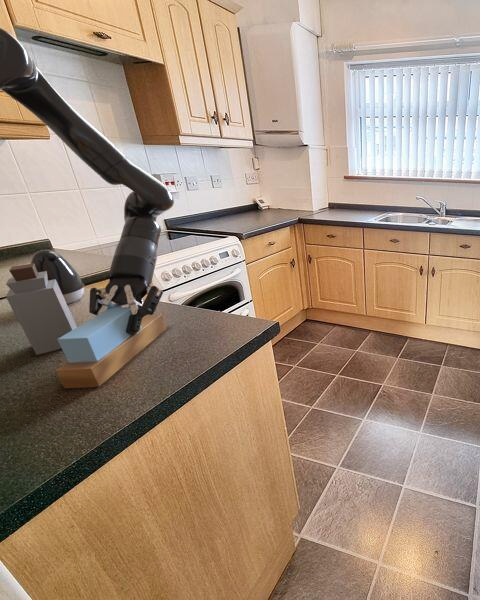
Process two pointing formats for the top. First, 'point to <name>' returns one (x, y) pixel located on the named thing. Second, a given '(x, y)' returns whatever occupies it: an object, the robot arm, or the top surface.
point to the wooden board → (111, 357)
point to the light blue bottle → (96, 336)
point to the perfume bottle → (39, 307)
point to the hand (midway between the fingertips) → (116, 334)
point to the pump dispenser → (60, 273)
